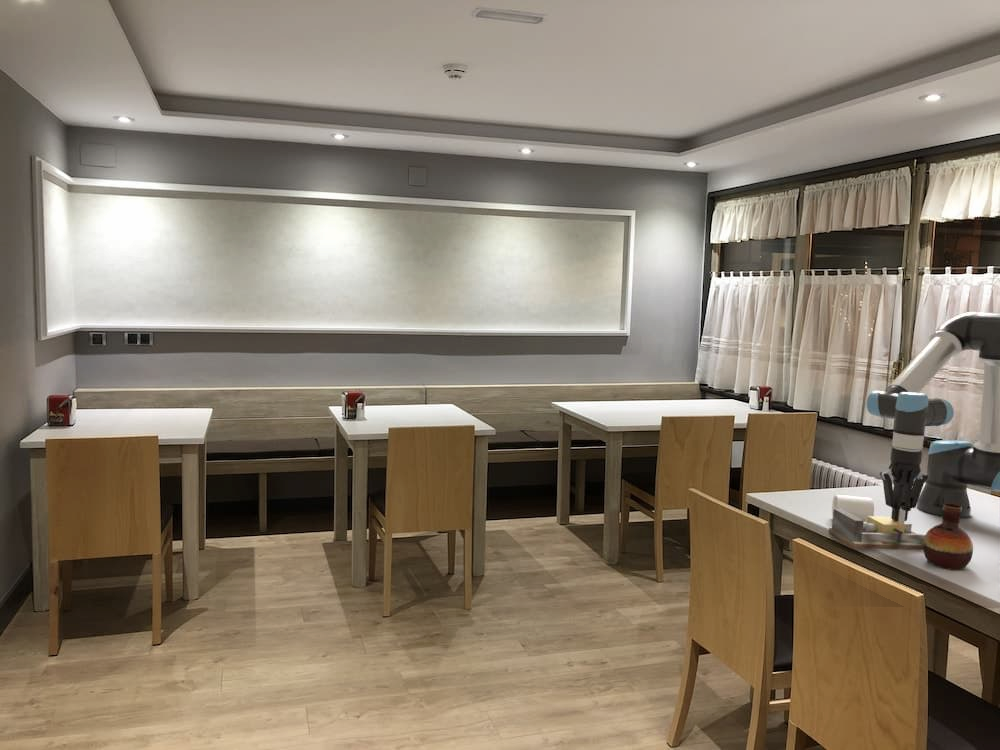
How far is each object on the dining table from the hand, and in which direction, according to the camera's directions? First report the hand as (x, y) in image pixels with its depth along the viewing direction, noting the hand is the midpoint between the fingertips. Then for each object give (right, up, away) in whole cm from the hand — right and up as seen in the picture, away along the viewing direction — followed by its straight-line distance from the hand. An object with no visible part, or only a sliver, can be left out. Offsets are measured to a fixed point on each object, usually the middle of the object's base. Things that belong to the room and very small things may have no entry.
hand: (897, 531), depth 215 cm
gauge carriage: (-5, -1, -2) cm, 6 cm away
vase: (+3, -5, -17) cm, 18 cm away
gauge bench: (-4, -2, 0) cm, 5 cm away
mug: (-5, -1, +19) cm, 19 cm away
